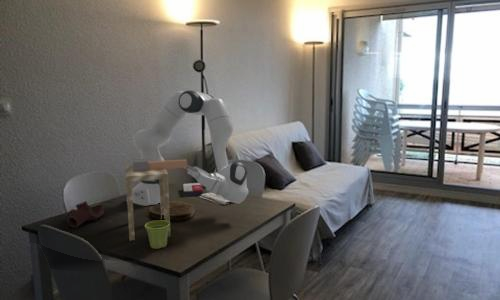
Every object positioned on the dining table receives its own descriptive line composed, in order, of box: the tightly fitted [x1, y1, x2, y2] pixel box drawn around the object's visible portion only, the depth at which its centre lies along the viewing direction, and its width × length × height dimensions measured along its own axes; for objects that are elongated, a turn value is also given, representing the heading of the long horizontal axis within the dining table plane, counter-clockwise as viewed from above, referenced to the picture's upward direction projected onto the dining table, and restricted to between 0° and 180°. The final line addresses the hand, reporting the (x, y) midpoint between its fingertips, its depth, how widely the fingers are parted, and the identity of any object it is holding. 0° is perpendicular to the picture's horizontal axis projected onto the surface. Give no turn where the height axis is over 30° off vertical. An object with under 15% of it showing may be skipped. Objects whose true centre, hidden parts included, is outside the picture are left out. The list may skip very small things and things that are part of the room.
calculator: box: [181, 182, 204, 198], centre depth 232 cm, size 11×4×15 cm
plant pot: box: [144, 219, 171, 250], centre depth 156 cm, size 9×9×9 cm
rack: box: [125, 164, 171, 242], centre depth 172 cm, size 16×22×26 cm
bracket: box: [67, 201, 105, 228], centre depth 184 cm, size 6×17×10 cm, turn 161°
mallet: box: [132, 158, 188, 172], centre depth 172 cm, size 22×6×4 cm, turn 107°
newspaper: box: [199, 192, 232, 206], centre depth 218 cm, size 23×12×2 cm, turn 40°
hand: (186, 168), depth 175 cm, fingers open, 8 cm apart
